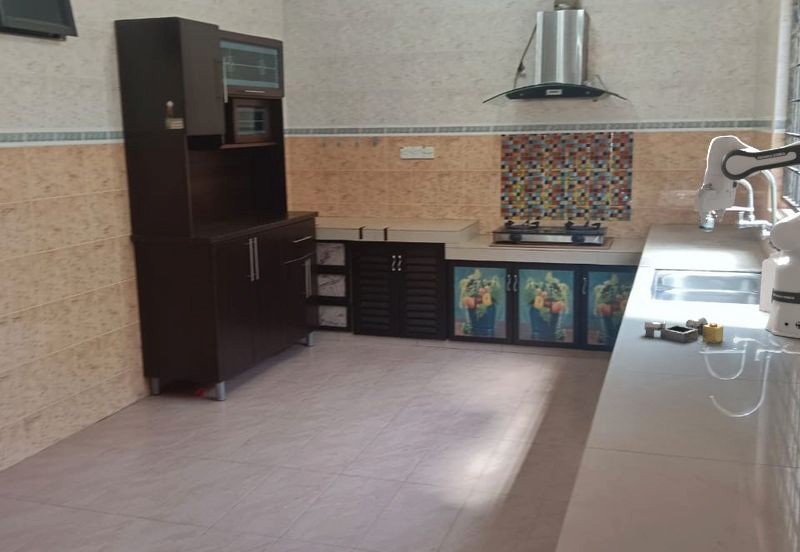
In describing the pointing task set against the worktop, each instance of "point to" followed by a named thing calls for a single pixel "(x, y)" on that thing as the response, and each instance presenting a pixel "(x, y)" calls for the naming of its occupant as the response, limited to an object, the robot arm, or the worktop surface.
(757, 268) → the worktop surface
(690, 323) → the grey irregular block
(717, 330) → the coupler
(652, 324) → the grey brown arch block
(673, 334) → the box
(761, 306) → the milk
